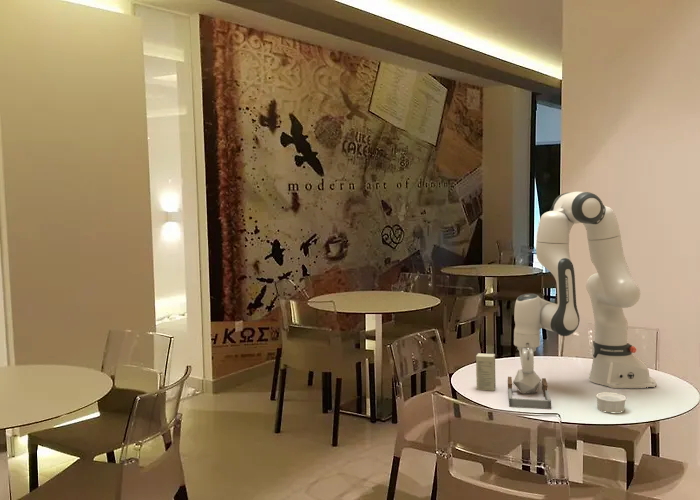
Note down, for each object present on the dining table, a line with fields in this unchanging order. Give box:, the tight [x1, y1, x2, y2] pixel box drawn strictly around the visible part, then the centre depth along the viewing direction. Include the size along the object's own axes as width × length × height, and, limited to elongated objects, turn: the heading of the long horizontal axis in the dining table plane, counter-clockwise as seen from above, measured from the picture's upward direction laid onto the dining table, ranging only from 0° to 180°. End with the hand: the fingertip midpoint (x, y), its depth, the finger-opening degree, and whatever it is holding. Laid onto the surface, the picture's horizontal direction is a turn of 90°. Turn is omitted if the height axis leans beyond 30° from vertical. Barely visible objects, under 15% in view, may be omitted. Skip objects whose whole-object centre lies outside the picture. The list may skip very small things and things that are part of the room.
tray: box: [507, 387, 552, 410], centre depth 220 cm, size 13×11×2 cm
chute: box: [507, 376, 549, 398], centre depth 230 cm, size 13×8×4 cm, turn 78°
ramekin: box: [595, 392, 627, 413], centre depth 212 cm, size 9×9×4 cm
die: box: [512, 368, 542, 395], centre depth 230 cm, size 8×9×10 cm
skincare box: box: [475, 352, 497, 392], centre depth 234 cm, size 6×4×12 cm
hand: (526, 378), depth 235 cm, fingers closed
